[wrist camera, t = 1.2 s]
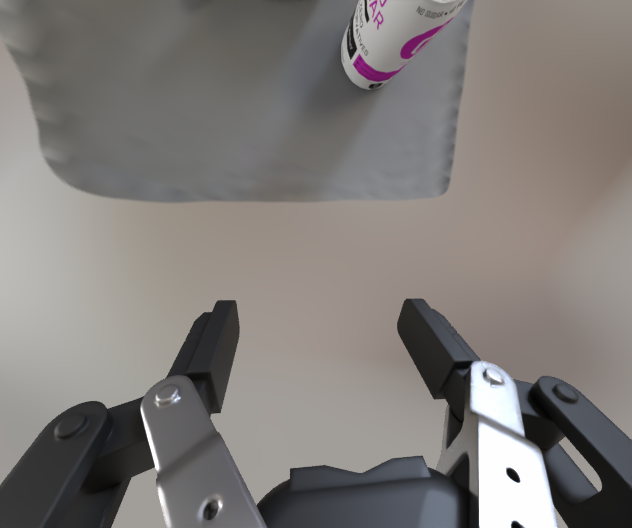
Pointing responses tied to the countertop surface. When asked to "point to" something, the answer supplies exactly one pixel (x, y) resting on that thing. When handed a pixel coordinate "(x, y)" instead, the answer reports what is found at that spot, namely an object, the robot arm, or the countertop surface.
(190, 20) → the countertop surface
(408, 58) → the supplement can
